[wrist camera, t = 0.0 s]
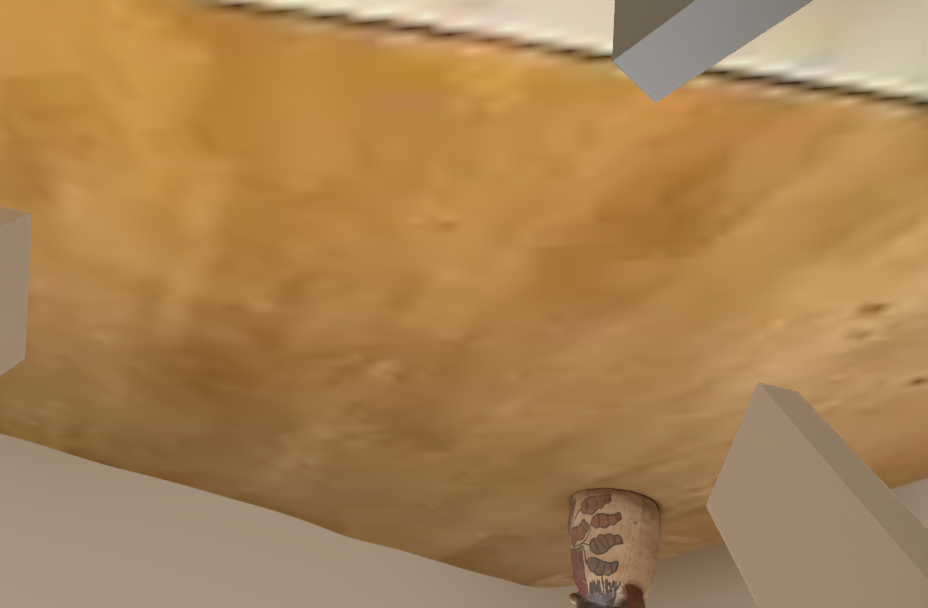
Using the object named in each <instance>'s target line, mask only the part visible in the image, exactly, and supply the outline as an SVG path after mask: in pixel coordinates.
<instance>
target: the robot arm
mask: <svg viewBox="0 0 928 608" xmlns="http://www.w3.org/2000/svg"><path fill="white" fill-rule="evenodd" d="M31 223H32V213H28V212H23V211H19V210H15V209H10V208H6V207H2V206H0V376H1V375H2V374H3V373H5V372H6V371H8V370H9V369H10V368H12V367H13V366H15V365H16V364H17V363H19V362H20V361H22V360H23V359H24V358H25V350H26V329H27V308H28V286H29V265H30V244H31ZM706 507H707V509H708V511H709V513H710V515H711V517H712V518H713V520H714V522H715V524H716V526H717V528H718V530H719V532H720V534H721V536H722V538H723V540H724V542H725V544H726V546H727V547H728V549H729V551H730V553H731V555H732V557H733V559H734V561H735V563H736V565H737V567H738V569H739V571H740V573H741V574H742V577H743V578H744V580H745V582H746V584H747V586H748V588H749V590H750V592H751V594H752V596H753V598H754V600H755V602H756V603H757V606H758V607H759V608H928V529H927V528H926V527H925V526H924V525H923V524H922V523H921V522H920V521H919V520H918V518H917V517H916V516H915V515H914V514H913V513H912V512H911V511H910V510H909V509H908V508H907V507H906V506H905V505H904V504H903V503H902V502H901V500H900V499H899V498H898V497H897V496H896V495H895V494H894V493H893V492H892V491H891V490H890V489H889V488H888V487H887V486H886V485H885V484H884V482H883V481H882V480H881V479H880V478H879V477H878V476H877V475H876V474H875V473H874V472H873V471H872V470H871V469H870V468H869V467H868V466H867V465H866V463H865V462H864V461H863V460H862V459H861V458H860V457H859V456H858V455H857V454H856V453H855V452H854V451H853V450H852V449H851V448H850V447H849V446H848V444H847V443H846V442H845V441H844V440H843V439H842V438H841V437H840V436H839V435H838V434H837V433H836V432H835V431H834V430H833V429H832V428H831V427H830V426H829V424H828V423H827V422H826V421H825V420H824V419H823V418H822V417H821V416H820V415H819V414H818V413H817V412H816V411H815V410H814V409H813V408H812V407H811V405H810V404H809V403H808V402H807V401H806V400H805V399H804V398H803V397H802V396H801V395H800V394H799V393H798V392H797V391H793V390H789V389H784V388H780V387H776V386H772V385H767V384H763V383H759V382H758V384H757V387H756V389H755V391H754V394H753V396H752V398H751V401H750V403H749V406H748V408H747V410H746V413H745V415H744V417H743V420H742V422H741V424H740V427H739V429H738V431H737V434H736V436H735V439H734V441H733V443H732V446H731V448H730V450H729V453H728V455H727V457H726V460H725V462H724V464H723V467H722V469H721V472H720V474H719V476H718V479H717V481H716V483H715V486H714V488H713V490H712V493H711V495H710V497H709V500H708V502H707V505H706Z"/></svg>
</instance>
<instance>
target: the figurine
mask: <svg viewBox="0 0 928 608" xmlns="http://www.w3.org/2000/svg"><path fill="white" fill-rule="evenodd" d="M568 532H569V536H570V541H571V559H572V570H573V575H574V579H575V583H576V585H577V587H578V589H579V592H577V593H572V594H571V595H570V601H571V602H572V603H573V604H576V606H577V608H645V602H646V600H647V598H648V596H649V594H650V591H651V588H652V585H653V580H654V576H655V571H656V565H657V560H658V552H659V544H660V538H661V522H660V515H659V511H658V508H657V506H656V504H655V503H654V502H653V501H652V500H651V499H649V498H647V497H644V496H642V495H640V494H636V493H633V492H630V491H625V490H618V489H607V488H603V489H591V490H584V491H580V492H577V493H575V494H574V495H573V497H572V499H571V506H570V514H569V519H568Z"/></svg>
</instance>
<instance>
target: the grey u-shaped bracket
mask: <svg viewBox="0 0 928 608" xmlns="http://www.w3.org/2000/svg"><path fill="white" fill-rule="evenodd" d="M811 1H813V0H615V13H614V36H613V59H612V61H613V62H614V63H615V64H616V65H617V66H618V67H619V68H620V69H621V70H622V71H623V72H624V73H625V74H626V75H627V76H628V77H629V78H630V79H631V80H632V81H633V82H634V83H635V84H636V85H637V86H639V87H640V88H641V89H642V90H643V91H644V92H645V93H646V94H647V95H648V96H649V97H650V98H651V99H652V100H653V101H654V102H655V103H656V102H658V101H659V100H661V99H662V98H664V97H665V96H667V95H669V94H670V93H672V92H673V91H675V90H676V89H678V88H679V87H681V86H682V85H684V84H685V83H687V82H688V81H690V80H692V79H693V78H695V77H696V76H698V75H699V74H701V73H702V72H704V71H705V70H707V69H708V68H710V67H712V66H713V65H715V64H716V63H718V62H719V61H721V60H722V59H724V58H725V57H727V56H728V55H730V54H731V53H733V52H735V51H736V50H738V49H739V48H741V47H742V46H744V45H745V44H747V43H748V42H750V41H751V40H753V39H754V38H756V37H758V36H759V35H761V34H762V33H764V32H765V31H767V30H768V29H770V28H771V27H773V26H774V25H776V24H778V23H779V22H781V21H782V20H784V19H785V18H787V17H788V16H790V15H791V14H793V13H794V12H796V11H797V10H799V9H801V8H802V7H804V6H805V5H807V4H808V3H810V2H811Z"/></svg>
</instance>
